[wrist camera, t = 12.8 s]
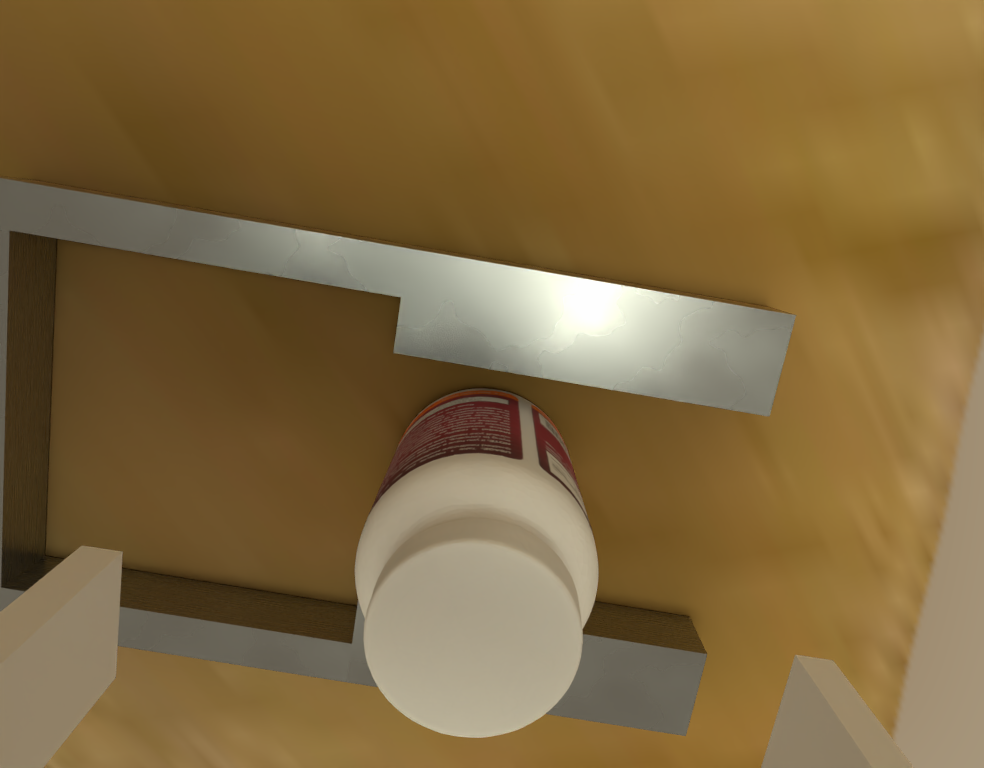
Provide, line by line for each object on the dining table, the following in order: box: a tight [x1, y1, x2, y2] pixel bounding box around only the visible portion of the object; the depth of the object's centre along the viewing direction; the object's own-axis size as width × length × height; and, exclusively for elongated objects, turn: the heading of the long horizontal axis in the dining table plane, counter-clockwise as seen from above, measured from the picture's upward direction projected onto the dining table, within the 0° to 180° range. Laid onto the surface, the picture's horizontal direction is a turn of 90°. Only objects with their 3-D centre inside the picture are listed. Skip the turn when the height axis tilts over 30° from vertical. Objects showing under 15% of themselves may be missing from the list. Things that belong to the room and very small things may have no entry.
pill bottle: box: [355, 388, 598, 738], centre depth 21 cm, size 6×6×11 cm
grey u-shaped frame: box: [0, 176, 796, 736], centre depth 25 cm, size 25×15×2 cm, turn 80°
